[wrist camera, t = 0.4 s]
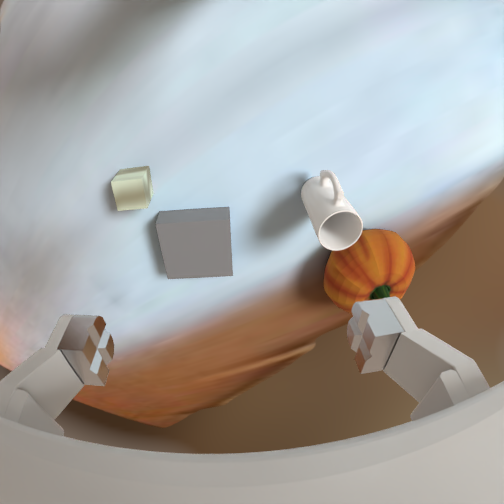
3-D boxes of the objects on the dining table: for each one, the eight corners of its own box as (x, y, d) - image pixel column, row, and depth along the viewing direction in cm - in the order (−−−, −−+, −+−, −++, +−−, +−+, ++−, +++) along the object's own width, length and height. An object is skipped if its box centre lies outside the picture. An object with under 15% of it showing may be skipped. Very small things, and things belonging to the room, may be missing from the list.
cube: (120, 169, 43) (110, 182, 40) (149, 165, 44) (141, 178, 40) (126, 195, 47) (117, 211, 43) (153, 193, 47) (147, 208, 43)
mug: (335, 207, 52) (359, 247, 42) (299, 210, 52) (317, 253, 42) (338, 154, 45) (368, 186, 36) (298, 157, 45) (319, 190, 36)
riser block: (159, 211, 49) (155, 224, 46) (229, 206, 50) (229, 219, 47) (170, 264, 56) (167, 278, 53) (231, 261, 57) (232, 275, 54)
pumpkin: (311, 292, 65) (328, 348, 53) (327, 218, 53) (355, 273, 41) (385, 286, 67) (410, 334, 55) (411, 219, 55) (449, 266, 43)
